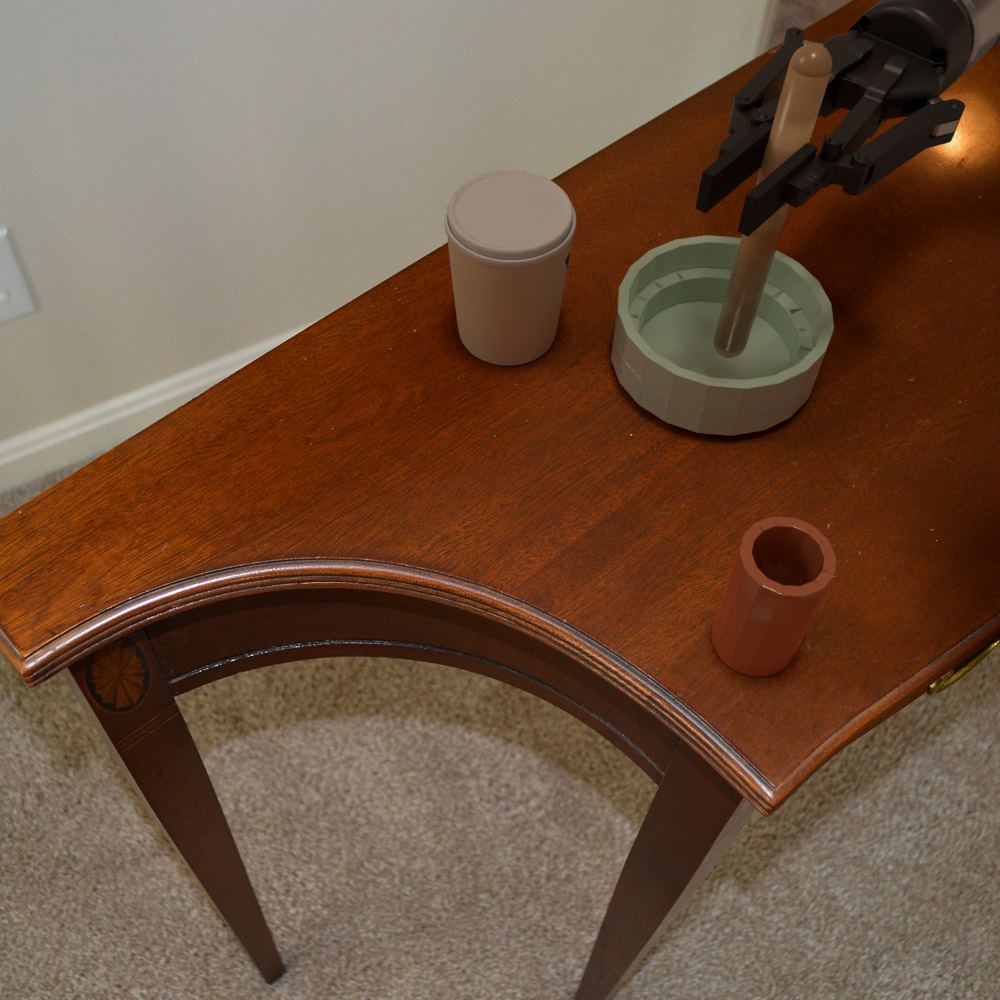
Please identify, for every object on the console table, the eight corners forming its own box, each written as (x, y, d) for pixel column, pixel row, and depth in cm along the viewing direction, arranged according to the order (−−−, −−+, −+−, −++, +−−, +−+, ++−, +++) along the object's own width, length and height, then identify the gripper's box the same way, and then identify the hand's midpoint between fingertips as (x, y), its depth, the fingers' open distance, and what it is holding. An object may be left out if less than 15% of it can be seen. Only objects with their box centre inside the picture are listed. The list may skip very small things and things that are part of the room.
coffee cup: (590, 342, 86) (603, 221, 76) (491, 392, 82) (492, 272, 73) (521, 273, 90) (526, 151, 80) (425, 318, 87) (418, 196, 77)
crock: (811, 635, 71) (854, 551, 62) (764, 693, 68) (802, 614, 60) (742, 587, 73) (775, 500, 64) (693, 642, 70) (721, 558, 62)
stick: (749, 352, 80) (845, 46, 62) (731, 369, 79) (824, 62, 60) (722, 337, 81) (809, 30, 62) (704, 353, 80) (787, 46, 61)
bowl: (851, 358, 85) (873, 302, 80) (737, 477, 78) (754, 423, 73) (688, 265, 91) (700, 208, 86) (569, 368, 84) (574, 311, 79)
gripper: (1004, 132, 75) (822, 313, 64) (811, 45, 80) (615, 198, 70) (1050, 29, 69) (857, 211, 58) (838, -57, 74) (628, 94, 64)
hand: (725, 203), depth 64 cm, fingers closed on stick, 2 cm apart
